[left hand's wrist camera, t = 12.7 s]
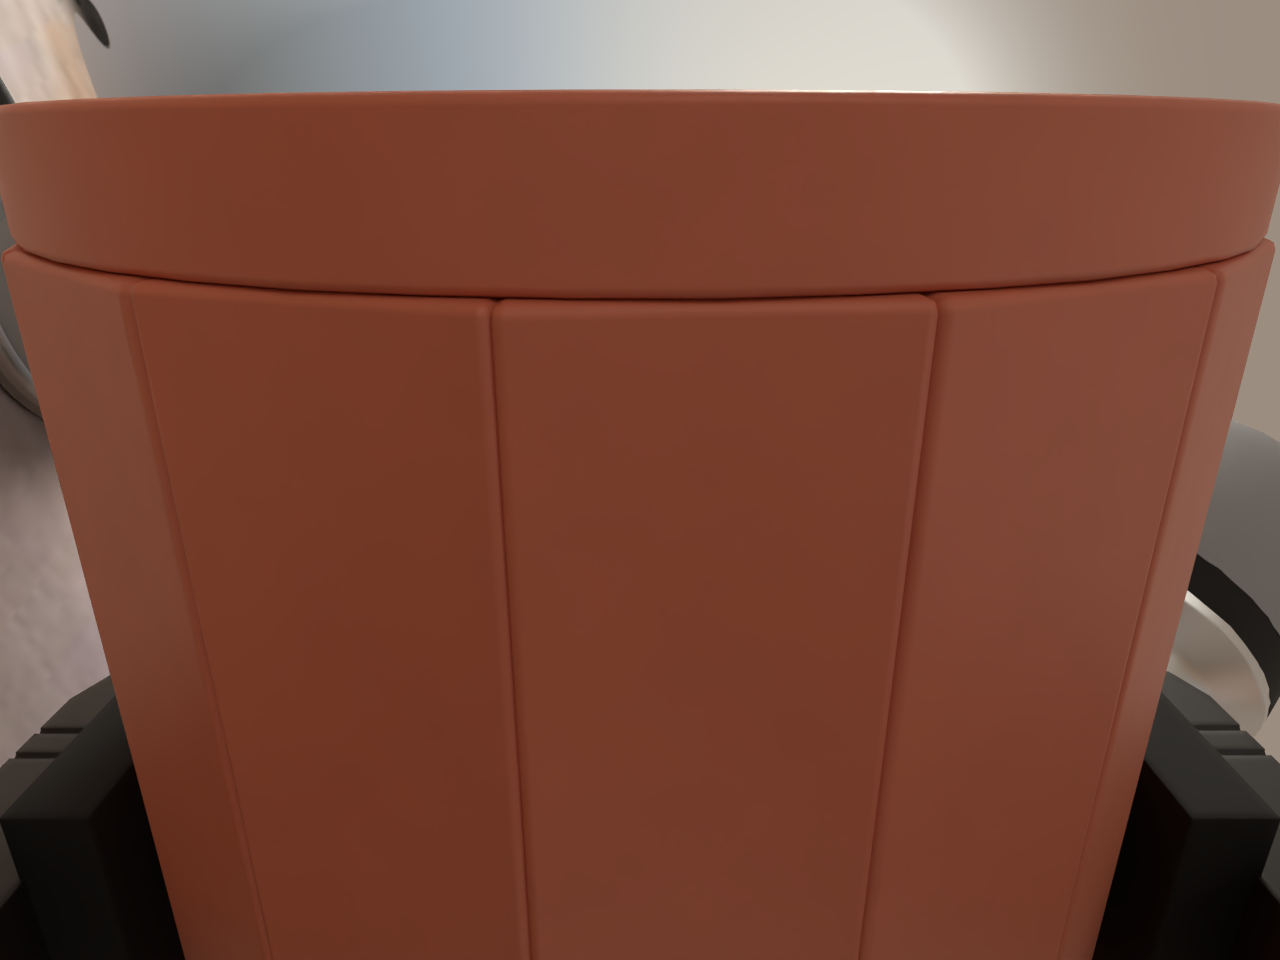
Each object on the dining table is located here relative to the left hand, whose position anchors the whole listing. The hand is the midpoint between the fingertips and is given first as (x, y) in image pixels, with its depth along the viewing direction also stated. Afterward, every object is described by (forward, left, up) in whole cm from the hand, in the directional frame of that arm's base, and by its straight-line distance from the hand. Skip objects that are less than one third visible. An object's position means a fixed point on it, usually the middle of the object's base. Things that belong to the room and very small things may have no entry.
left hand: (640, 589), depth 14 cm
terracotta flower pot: (-6, -5, +1) cm, 8 cm away
